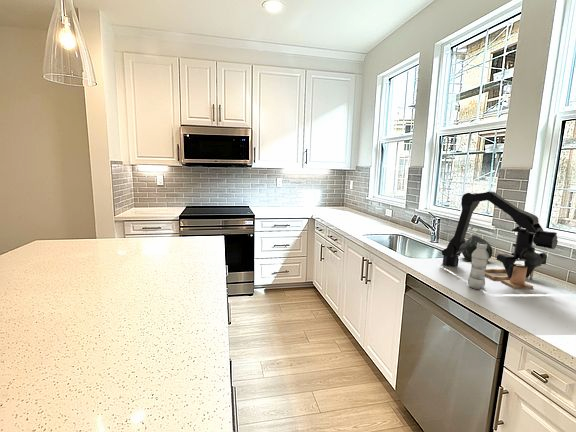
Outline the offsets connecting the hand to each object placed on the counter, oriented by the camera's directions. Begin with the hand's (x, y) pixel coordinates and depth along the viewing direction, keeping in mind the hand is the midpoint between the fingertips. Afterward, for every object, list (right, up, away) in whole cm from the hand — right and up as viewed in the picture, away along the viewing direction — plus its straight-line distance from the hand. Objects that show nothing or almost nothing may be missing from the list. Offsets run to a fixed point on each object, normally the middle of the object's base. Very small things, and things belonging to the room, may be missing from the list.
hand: (517, 277), depth 134 cm
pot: (0, -2, 0) cm, 2 cm away
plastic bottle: (-20, -4, -2) cm, 21 cm away
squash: (+5, +2, +39) cm, 39 cm away
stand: (0, -4, +1) cm, 4 cm away
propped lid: (+13, -3, +13) cm, 19 cm away
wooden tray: (0, -2, +12) cm, 12 cm away
